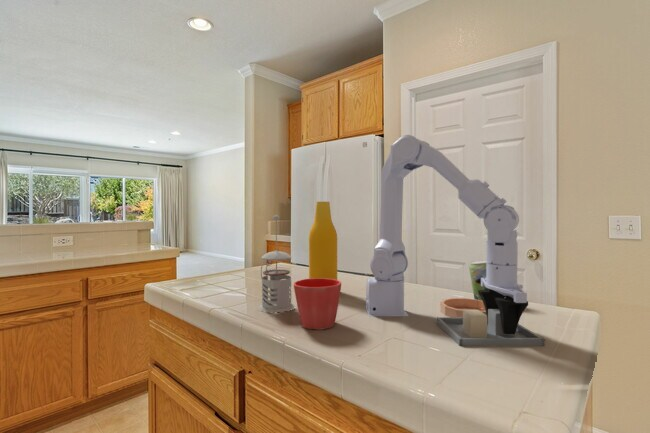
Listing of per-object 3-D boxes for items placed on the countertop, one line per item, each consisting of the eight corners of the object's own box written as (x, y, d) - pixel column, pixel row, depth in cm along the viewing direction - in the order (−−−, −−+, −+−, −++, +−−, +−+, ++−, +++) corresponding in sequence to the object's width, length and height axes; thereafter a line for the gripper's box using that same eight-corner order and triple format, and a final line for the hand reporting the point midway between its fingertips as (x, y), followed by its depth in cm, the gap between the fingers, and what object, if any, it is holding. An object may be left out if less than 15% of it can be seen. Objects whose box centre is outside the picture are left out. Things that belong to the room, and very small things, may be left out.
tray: (459, 348, 63) (459, 339, 63) (436, 325, 76) (436, 317, 76) (544, 348, 63) (544, 339, 63) (507, 325, 76) (507, 317, 76)
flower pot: (294, 317, 82) (293, 278, 82) (338, 316, 83) (338, 277, 83) (293, 333, 72) (293, 287, 72) (344, 331, 73) (344, 286, 73)
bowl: (452, 324, 77) (452, 311, 77) (434, 308, 90) (434, 298, 90) (506, 324, 77) (506, 311, 77) (481, 308, 90) (481, 297, 90)
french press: (270, 315, 84) (270, 215, 84) (248, 305, 93) (247, 215, 92) (302, 308, 90) (301, 214, 90) (278, 299, 99) (277, 214, 99)
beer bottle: (340, 289, 111) (340, 201, 111) (332, 296, 103) (332, 201, 102) (314, 287, 114) (314, 202, 114) (304, 294, 105) (304, 201, 105)
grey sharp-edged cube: (495, 334, 69) (495, 313, 69) (487, 329, 72) (488, 308, 72) (515, 334, 69) (515, 313, 69) (506, 329, 72) (506, 308, 72)
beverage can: (501, 307, 91) (501, 262, 90) (471, 305, 92) (472, 262, 92) (494, 301, 97) (494, 259, 97) (467, 300, 98) (467, 258, 98)
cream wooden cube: (487, 337, 67) (487, 315, 67) (470, 337, 67) (471, 315, 67) (477, 330, 71) (478, 309, 71) (462, 330, 71) (462, 309, 71)
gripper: (543, 269, 63) (542, 341, 63) (502, 258, 77) (502, 317, 78) (505, 269, 63) (505, 341, 63) (471, 258, 77) (471, 317, 78)
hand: (501, 328), depth 70 cm, fingers open, 5 cm apart
